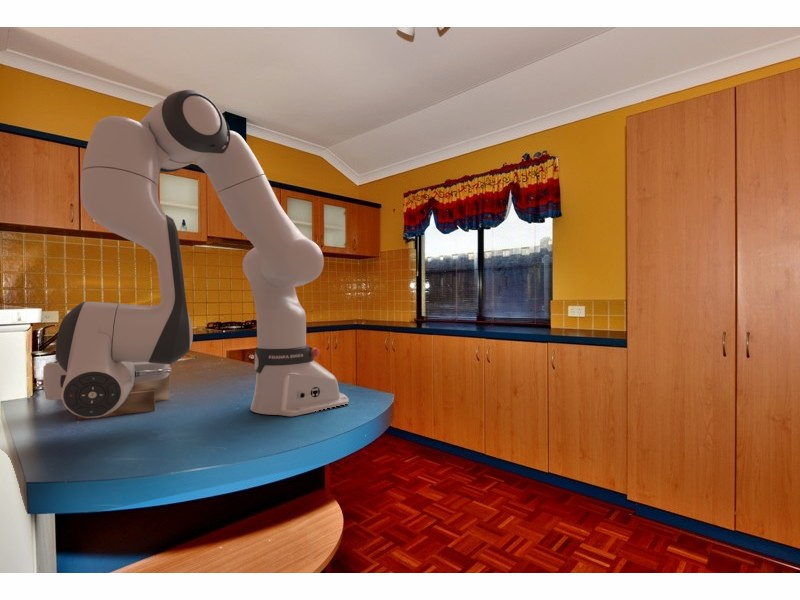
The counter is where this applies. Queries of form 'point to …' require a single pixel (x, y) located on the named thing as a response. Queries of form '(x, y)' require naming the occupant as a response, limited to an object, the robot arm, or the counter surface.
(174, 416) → the counter surface
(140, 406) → the cleat ledge
